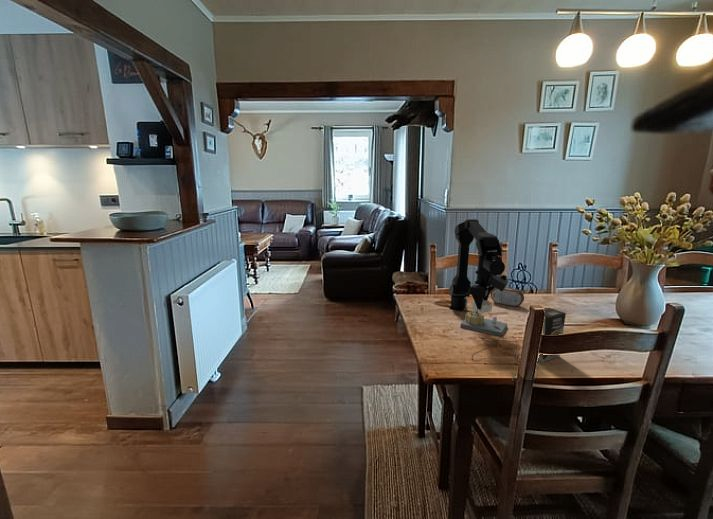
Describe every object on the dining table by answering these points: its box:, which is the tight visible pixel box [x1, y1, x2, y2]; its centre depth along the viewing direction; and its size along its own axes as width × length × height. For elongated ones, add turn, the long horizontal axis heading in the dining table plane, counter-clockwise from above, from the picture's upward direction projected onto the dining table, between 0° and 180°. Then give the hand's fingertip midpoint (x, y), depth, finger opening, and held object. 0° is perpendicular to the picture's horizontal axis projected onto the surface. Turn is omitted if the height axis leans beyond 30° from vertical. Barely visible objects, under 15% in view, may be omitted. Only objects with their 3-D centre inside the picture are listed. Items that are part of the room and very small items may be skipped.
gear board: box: [460, 310, 508, 337], centre depth 152 cm, size 16×11×6 cm
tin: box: [490, 286, 525, 307], centre depth 179 cm, size 15×3×8 cm, turn 58°
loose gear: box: [471, 300, 493, 314], centre depth 145 cm, size 7×7×3 cm
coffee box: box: [537, 307, 567, 363], centre depth 127 cm, size 9×6×16 cm
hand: (481, 306), depth 145 cm, fingers closed on loose gear, 7 cm apart
